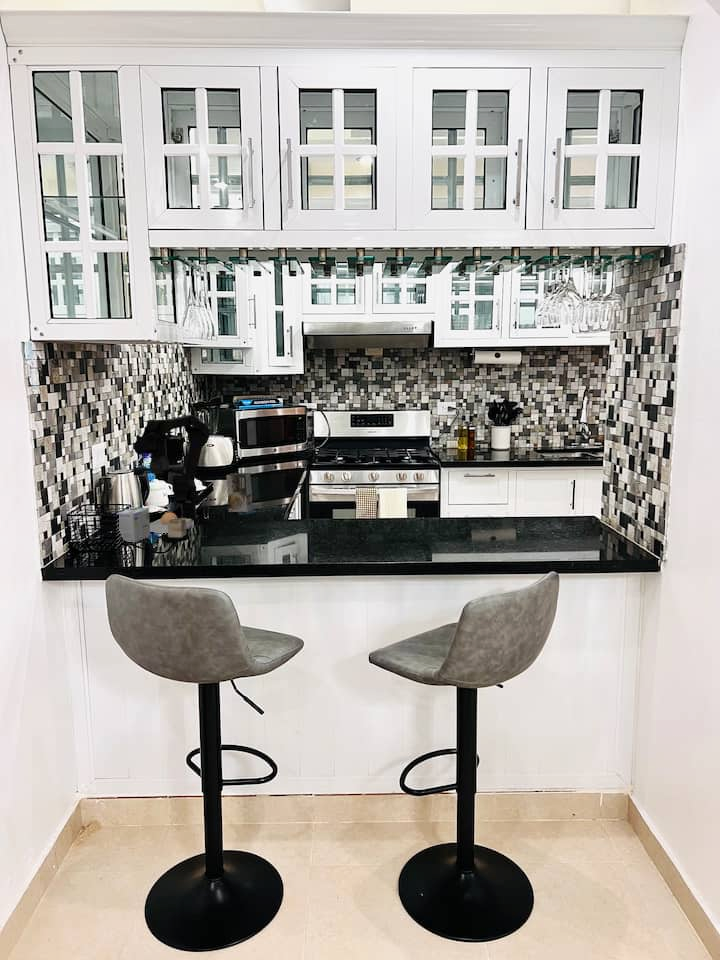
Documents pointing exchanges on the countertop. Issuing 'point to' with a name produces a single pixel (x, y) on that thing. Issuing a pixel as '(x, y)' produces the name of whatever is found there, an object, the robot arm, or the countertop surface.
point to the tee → (177, 527)
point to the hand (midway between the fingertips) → (161, 492)
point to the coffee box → (239, 492)
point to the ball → (167, 517)
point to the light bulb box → (134, 524)
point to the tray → (165, 526)
